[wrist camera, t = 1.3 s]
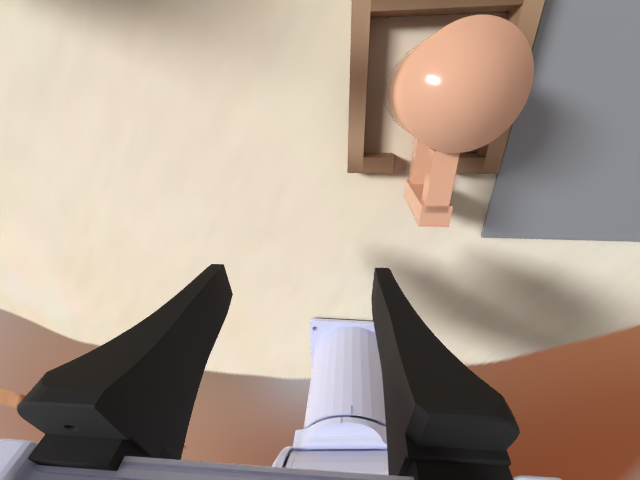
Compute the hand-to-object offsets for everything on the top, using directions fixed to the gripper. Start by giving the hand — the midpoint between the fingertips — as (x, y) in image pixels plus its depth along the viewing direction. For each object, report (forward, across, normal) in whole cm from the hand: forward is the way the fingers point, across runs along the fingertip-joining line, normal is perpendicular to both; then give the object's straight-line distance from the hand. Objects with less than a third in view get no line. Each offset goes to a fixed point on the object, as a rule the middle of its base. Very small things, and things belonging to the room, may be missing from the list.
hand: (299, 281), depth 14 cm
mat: (+10, -18, -4) cm, 21 cm away
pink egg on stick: (+10, -7, -4) cm, 13 cm away
